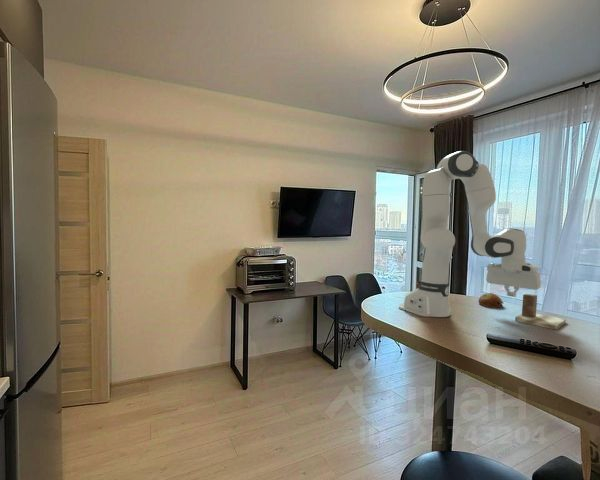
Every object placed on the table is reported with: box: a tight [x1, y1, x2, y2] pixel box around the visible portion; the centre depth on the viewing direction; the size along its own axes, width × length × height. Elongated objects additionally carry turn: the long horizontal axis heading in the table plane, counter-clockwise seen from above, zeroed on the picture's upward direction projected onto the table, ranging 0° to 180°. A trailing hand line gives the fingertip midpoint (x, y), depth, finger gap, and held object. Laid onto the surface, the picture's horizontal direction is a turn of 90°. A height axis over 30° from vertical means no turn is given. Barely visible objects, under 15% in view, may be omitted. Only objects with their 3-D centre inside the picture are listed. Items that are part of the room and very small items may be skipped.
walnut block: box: [521, 293, 538, 318], centre depth 138 cm, size 4×4×9 cm
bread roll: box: [478, 292, 504, 309], centre depth 160 cm, size 10×10×8 cm
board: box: [514, 313, 567, 331], centre depth 135 cm, size 14×14×2 cm
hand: (511, 296), depth 143 cm, fingers closed
